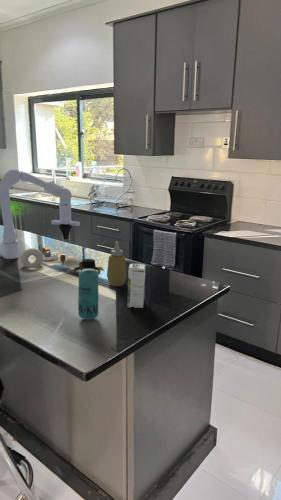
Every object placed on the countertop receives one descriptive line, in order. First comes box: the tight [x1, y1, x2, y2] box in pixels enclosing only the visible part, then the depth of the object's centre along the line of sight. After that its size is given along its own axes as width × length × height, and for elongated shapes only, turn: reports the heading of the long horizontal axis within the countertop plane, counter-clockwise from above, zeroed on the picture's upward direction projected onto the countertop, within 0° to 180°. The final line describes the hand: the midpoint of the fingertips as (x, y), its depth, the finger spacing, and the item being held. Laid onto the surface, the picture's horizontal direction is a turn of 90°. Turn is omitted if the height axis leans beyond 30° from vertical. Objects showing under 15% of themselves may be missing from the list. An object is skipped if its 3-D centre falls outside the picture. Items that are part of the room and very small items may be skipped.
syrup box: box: [126, 263, 146, 309], centre depth 132 cm, size 6×6×14 cm
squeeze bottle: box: [106, 240, 127, 287], centre depth 152 cm, size 8×8×18 cm
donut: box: [20, 247, 43, 269], centre depth 170 cm, size 10×4×10 cm, turn 112°
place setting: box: [60, 255, 105, 276], centre depth 172 cm, size 18×20×6 cm
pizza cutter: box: [42, 246, 58, 261], centre depth 185 cm, size 15×10×4 cm, turn 14°
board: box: [29, 246, 81, 267], centre depth 185 cm, size 20×17×5 cm
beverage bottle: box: [77, 258, 100, 320], centre depth 118 cm, size 6×7×20 cm
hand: (65, 239), depth 191 cm, fingers closed
